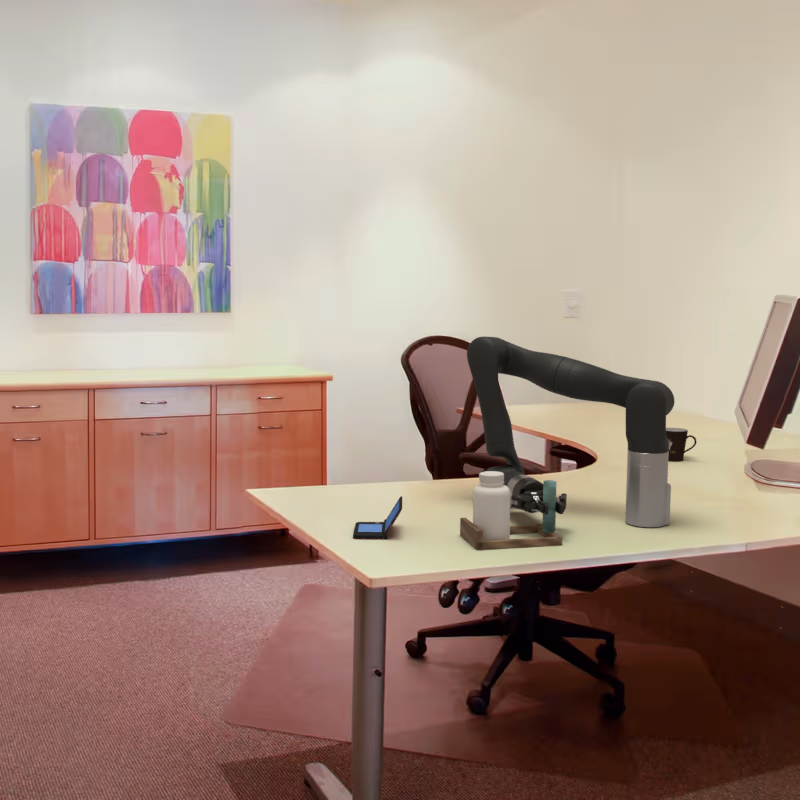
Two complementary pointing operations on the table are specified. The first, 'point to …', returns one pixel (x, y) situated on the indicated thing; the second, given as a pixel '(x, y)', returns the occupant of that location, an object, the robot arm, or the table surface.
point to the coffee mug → (677, 443)
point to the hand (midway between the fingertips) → (554, 509)
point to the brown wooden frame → (519, 528)
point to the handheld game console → (377, 525)
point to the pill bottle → (492, 506)
